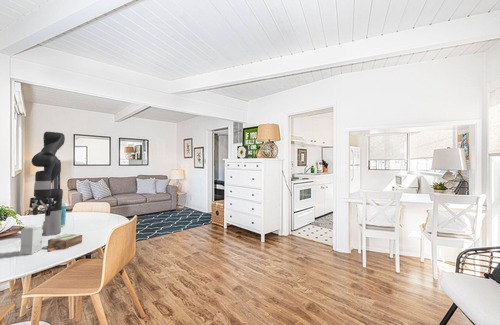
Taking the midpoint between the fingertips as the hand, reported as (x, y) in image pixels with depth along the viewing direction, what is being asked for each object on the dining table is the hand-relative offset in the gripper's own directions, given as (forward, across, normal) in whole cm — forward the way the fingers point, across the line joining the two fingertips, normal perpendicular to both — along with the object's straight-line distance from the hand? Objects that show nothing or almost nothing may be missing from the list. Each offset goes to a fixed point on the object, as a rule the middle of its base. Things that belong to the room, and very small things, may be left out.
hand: (41, 215), depth 133 cm
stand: (+21, +6, +11) cm, 24 cm away
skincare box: (+21, -2, -3) cm, 22 cm away
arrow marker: (+21, +6, +2) cm, 22 cm away
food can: (+21, -39, +44) cm, 62 cm away
